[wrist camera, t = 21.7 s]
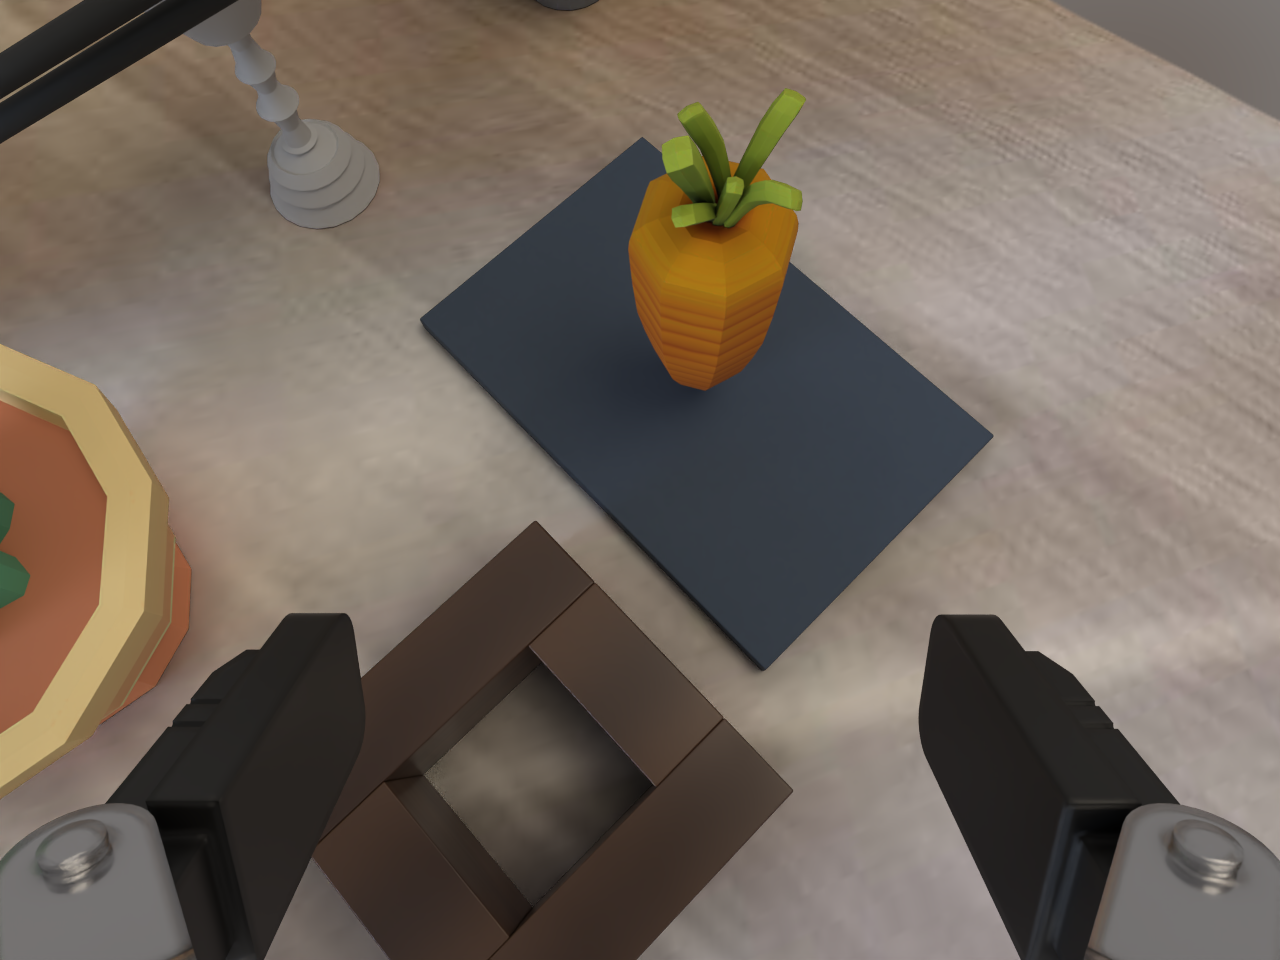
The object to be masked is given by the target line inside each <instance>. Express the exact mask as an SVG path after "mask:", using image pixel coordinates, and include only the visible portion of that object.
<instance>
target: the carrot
mask: <svg viewBox="0 0 1280 960" xmlns="http://www.w3.org/2000/svg"><path fill="white" fill-rule="evenodd" d="M805 101H806V99H805V97H803V96H802V95H801V94H799V93H798V92H796V91H793V90H790V89H787V88H785V89H784V91H783V92H782V93H781V94H780V95H779V96H778V97H777V98H776V99H775V101H774V102H773V103H772V104H771V106H770V108H769V109H768V111H767V112H766V114H765V115H764V117H763V118H762V120H761V121H760V123H759V125H758V127H757V129H756V131H755V133H754V135H753V137H752V139H751V141H750V143H749V145H748V147H747V149H746V151H745V153H744V155H743V157H742V159H741V161H740V163H735V162H730V161H728V157H727V153H726V148H725V144H724V140H723V138H722V136H721V134H720V132H719V130H718V129H717V127H716V125H715V123H714V121H713V120H712V118H711V117H710V116H709V114H708V113H707V112H706V110H705V109H704V108H703V106H702V105H701V104H700V103H699V102H696V103H694V104H691V105H688V106H686V107H685V108H684V109H683V110H681V111H680V112H679V113H678V118H679V120H680V122H681V123H682V125H683V126H684V128H685V130H686V131H687V133H688V134H689V135H690V137H691V138H692V139H693V141H694V142H695V143H696V145H697V146H698V147H699V149H700V150H701V153H702V155H703V156H701V154H700V152H699V150H698V149H697V147H696V145H695V143H694V142H693V141H692V139H691V138H690V137H689V136H682V137H676V138H673V139H671V140H670V141H668V142H666V143H664V144H663V145H662V159H663V162H664V166H665V169H666V172H667V174H665V175H663V176H660V177H658V178H656V179H654V180H652V181H650V183H649V185H648V187H647V190H646V193H645V196H644V199H643V202H642V205H641V208H640V211H639V214H638V217H637V220H636V223H635V226H634V229H633V232H632V235H631V238H630V240H629V247H628V252H629V260H630V269H631V277H632V285H633V290H634V296H635V302H636V307H637V312H638V315H639V317H640V320H641V322H642V325H643V327H644V329H645V332H646V334H647V336H648V338H649V340H650V342H651V344H652V346H653V348H654V350H655V351H656V353H657V354H658V356H659V358H660V359H661V361H662V363H663V364H664V366H665V368H666V369H667V371H668V372H669V374H670V376H671V377H672V379H673V380H675V381H676V382H677V383H679V384H681V385H684V386H688V387H692V388H696V389H700V390H704V391H706V390H708V389H710V388H711V387H713V386H715V385H717V384H719V383H721V382H723V381H725V380H727V379H729V378H730V377H732V376H734V375H736V374H738V373H739V372H741V371H742V370H743V369H744V367H745V366H746V365H747V364H748V363H749V362H750V360H751V359H752V358H753V357H754V355H755V354H756V352H757V351H758V349H759V348H760V346H761V345H762V344H763V341H764V339H765V336H766V334H767V331H768V328H769V326H770V323H771V321H772V318H773V315H774V312H775V309H776V306H777V302H778V299H779V296H780V293H781V290H782V287H783V283H784V279H785V276H786V272H787V268H788V265H789V261H790V257H791V254H792V250H793V246H794V243H795V239H796V235H797V232H798V219H797V215H796V214H795V212H794V211H793V210H795V211H800V210H801V207H802V202H803V201H802V192H801V191H800V190H798V189H796V188H794V187H792V186H789V185H787V184H785V183H782V182H778V181H775V180H771V179H770V177H769V176H768V174H767V173H766V172H765V170H764V169H761V167H762V165H763V164H764V162H765V161H766V159H767V158H768V156H769V155H770V153H771V152H772V150H773V149H774V147H775V146H776V144H777V143H778V141H779V140H780V138H781V137H782V135H783V134H784V132H785V131H786V129H787V128H788V127H789V125H790V124H791V123H792V121H793V120H794V118H795V117H796V116H797V114H798V113H799V111H800V109H801V108H802V106H803V104H804V102H805Z"/></svg>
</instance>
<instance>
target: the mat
mask: <svg viewBox="0 0 1280 960" xmlns="http://www.w3.org/2000/svg"><path fill="white" fill-rule="evenodd" d="M665 174H667V172H666V169H665V166H664V162H663V159H662V153H661V152H660V151H658V150H657V149H656V148H655V147H654V146H653V145H651V144H650V143H649V142H648V141H647V140H646V139H644V138H643V137H642V138H640V139H639V140H638V141H637V142H635V143H634V144H633V145H632V146H631V147H629V148H628V149H627V150H626V151H624V152H623V153H622V154H621V155H620V156H618V157H617V158H616V159H615V160H613V161H612V162H611V163H610V164H609V165H607V166H606V167H605V168H604V169H602V170H601V171H600V172H599V173H598V174H596V175H595V176H594V177H593V178H591V179H590V180H589V181H588V182H587V183H585V184H584V185H583V186H582V187H580V188H579V189H578V190H577V191H576V192H574V193H573V194H572V195H571V196H569V197H568V198H567V199H566V200H565V201H563V202H562V203H561V204H560V205H558V206H557V207H556V208H555V209H554V210H552V211H551V212H550V213H549V214H547V215H546V216H545V217H544V218H543V219H541V220H540V221H539V222H538V223H536V224H535V225H534V226H533V227H532V228H530V229H529V230H528V231H527V232H525V233H524V234H523V235H522V236H521V237H519V238H518V239H517V240H516V241H514V242H513V243H512V244H511V245H510V246H508V247H507V248H506V249H505V250H503V251H502V252H501V253H500V254H499V255H497V256H496V257H495V258H494V259H492V260H491V261H490V262H489V263H488V264H486V265H485V266H484V267H483V268H481V269H480V270H479V271H478V272H477V273H475V274H474V275H473V276H472V277H470V278H469V279H468V280H467V281H466V282H464V283H463V284H462V285H461V286H459V287H458V288H457V289H456V290H455V291H453V292H452V293H451V294H450V295H448V296H447V297H446V298H445V299H444V300H442V301H441V302H440V303H439V304H437V305H436V306H435V307H434V308H433V309H431V310H430V311H429V312H428V313H426V314H425V315H424V316H423V317H422V318H421V319H420V321H421V322H422V324H423V326H424V327H425V329H426V330H427V331H428V332H429V333H430V334H431V335H432V336H433V337H434V338H435V339H436V340H437V341H438V342H439V343H440V344H441V345H442V346H443V347H444V348H445V349H446V350H447V351H448V352H449V353H450V354H451V355H452V356H453V357H454V358H455V359H456V360H457V361H458V362H459V363H460V364H461V365H462V366H463V367H464V368H465V369H466V370H467V371H468V372H469V373H470V374H471V375H472V376H473V377H474V378H475V379H476V381H477V382H478V383H479V384H480V385H481V386H482V387H483V388H484V389H485V390H486V391H487V392H488V393H489V394H490V395H491V396H492V397H493V398H494V399H495V400H496V401H497V402H498V403H499V404H500V405H501V406H502V407H503V408H504V409H505V410H506V411H507V412H508V413H509V414H510V415H511V416H512V417H513V418H514V419H515V420H516V421H517V422H518V423H519V424H520V425H521V426H522V427H523V428H524V429H525V430H526V431H527V432H528V433H529V434H530V435H531V436H532V437H533V438H534V439H535V440H536V441H537V442H538V443H539V445H540V446H541V447H542V448H543V449H544V450H545V451H546V452H547V453H548V454H549V455H550V456H551V457H552V458H553V459H554V460H555V461H556V462H557V463H558V464H559V465H560V466H561V467H562V468H563V469H564V470H565V471H566V472H567V473H568V474H569V475H570V476H571V477H572V478H573V479H574V480H575V481H576V482H577V483H578V484H579V485H580V486H581V487H582V488H583V489H584V490H585V491H586V492H587V493H588V494H589V495H590V496H591V497H592V498H593V499H594V500H595V501H596V502H597V503H598V504H599V505H600V506H601V507H602V509H603V510H604V511H605V512H606V513H607V514H608V515H609V516H610V517H611V518H612V519H613V520H614V521H615V522H616V523H617V524H618V525H619V526H620V527H621V528H622V529H623V530H624V531H625V532H626V533H627V534H628V535H629V536H630V537H631V538H632V539H633V540H634V541H635V542H636V543H637V544H638V545H639V546H640V547H641V548H642V549H643V550H644V551H645V552H646V553H647V554H648V555H649V556H650V557H651V558H652V559H653V560H654V561H655V562H656V563H657V564H658V565H659V566H660V567H661V568H662V569H663V570H664V571H665V572H666V574H667V575H668V576H669V577H670V578H671V579H672V580H673V581H674V582H675V583H676V584H677V585H678V586H679V587H680V588H681V589H682V590H683V591H684V592H685V593H686V594H687V595H688V596H689V597H690V598H691V599H692V600H693V601H694V602H695V603H696V604H697V605H698V606H699V607H700V608H701V609H702V610H703V611H704V612H705V613H706V614H707V615H708V616H709V617H710V618H711V619H712V620H713V621H714V622H715V623H716V624H717V625H718V626H719V627H720V628H721V629H722V630H723V631H724V632H725V633H726V634H727V635H728V636H729V638H730V639H731V640H732V641H733V642H734V643H735V644H736V645H737V646H738V647H739V648H740V649H741V650H742V651H743V652H744V653H745V654H746V655H747V656H748V657H749V658H750V659H751V660H752V661H753V662H754V663H755V664H756V665H757V666H758V667H759V668H760V669H761V670H762V671H764V670H766V669H767V668H768V667H769V666H770V665H771V664H772V663H773V662H774V661H775V660H776V659H777V658H778V657H779V656H780V655H781V654H782V653H783V652H784V651H785V650H786V649H787V648H788V647H789V646H790V644H791V643H792V642H793V641H794V640H795V639H796V638H797V637H798V636H799V635H800V634H801V633H802V632H803V631H804V630H805V629H806V628H807V627H808V626H809V625H810V624H811V623H812V622H813V621H814V620H815V619H816V618H817V617H818V616H819V615H820V614H821V613H822V612H823V611H824V610H825V609H826V608H827V607H828V606H829V605H830V604H831V603H832V602H833V600H834V599H835V598H836V597H837V596H838V595H839V594H840V593H841V592H842V591H843V590H844V589H845V588H846V587H847V586H848V585H849V584H850V583H851V582H852V581H853V580H854V579H855V578H856V577H857V576H858V575H859V574H860V573H861V572H862V571H863V570H864V569H865V568H866V567H867V566H868V565H869V564H870V563H871V562H872V561H873V560H874V559H875V558H876V556H877V555H878V554H879V553H880V552H881V551H882V550H883V549H884V548H885V547H886V546H887V545H888V544H889V543H890V542H891V541H892V540H893V539H894V538H895V537H896V536H897V535H898V534H899V533H900V532H901V531H902V530H903V529H904V528H905V527H906V526H907V525H908V524H909V523H910V522H911V521H912V520H913V519H914V518H915V517H916V516H917V515H918V514H919V512H920V511H921V510H922V509H923V508H924V507H925V506H926V505H927V504H928V503H929V502H930V501H931V500H932V499H933V498H934V497H935V496H936V495H937V494H938V493H939V492H940V491H941V490H942V489H943V488H944V487H945V486H946V485H947V484H948V483H949V482H950V481H951V480H952V479H953V478H954V477H955V476H956V475H957V474H958V473H959V472H960V471H961V470H962V468H963V467H964V466H965V465H966V464H967V463H968V462H969V461H970V460H971V459H972V458H973V457H974V456H975V455H976V454H977V453H978V452H979V451H980V450H981V449H982V448H983V447H984V446H985V445H986V444H987V443H988V442H989V441H990V440H991V439H992V438H993V434H991V433H990V432H989V431H988V430H987V429H986V428H984V427H983V426H982V425H981V424H980V423H979V422H977V421H976V420H975V419H974V418H973V417H971V416H970V415H969V414H968V413H967V412H966V411H964V410H963V409H962V408H961V407H960V406H959V405H957V404H956V403H955V402H954V401H953V400H951V399H950V398H949V397H948V396H947V395H946V394H944V393H943V392H942V391H941V390H940V389H939V388H937V387H936V386H935V385H934V384H933V383H931V382H930V381H929V380H928V379H927V378H926V377H924V376H923V375H922V374H921V373H920V372H919V371H917V370H916V369H915V368H914V367H913V366H911V365H910V364H909V363H908V362H907V361H906V360H904V359H903V358H902V357H901V356H900V355H899V354H897V353H896V352H895V351H894V350H893V349H891V348H890V347H889V346H888V345H887V344H886V343H884V342H883V341H882V340H881V339H880V338H879V337H877V336H876V335H875V334H874V333H873V332H871V331H870V330H869V329H868V328H867V327H866V326H864V325H863V324H862V323H861V322H860V321H859V320H857V319H856V318H855V317H854V316H853V315H851V314H850V313H849V312H848V311H847V310H846V309H844V308H843V307H842V306H841V305H840V304H839V303H837V302H836V301H835V300H834V299H833V298H831V297H830V296H829V295H828V294H827V293H826V292H824V291H823V290H822V289H821V288H820V287H819V286H817V285H816V284H815V283H814V282H813V281H811V280H810V279H809V278H808V277H807V276H806V275H804V274H803V273H802V272H801V271H800V270H798V269H797V268H796V267H795V266H794V265H793V264H791V263H790V262H789V265H788V268H787V272H786V276H785V279H784V283H783V287H782V290H781V293H780V296H779V299H778V302H777V306H776V309H775V312H774V315H773V318H772V321H771V323H770V326H769V328H768V331H767V334H766V336H765V339H764V341H763V344H762V345H761V346H760V348H759V349H758V351H757V352H756V354H755V355H754V357H753V358H752V359H751V360H750V362H749V363H748V364H747V365H746V366H745V367H744V369H743V370H742V371H741V372H739V373H738V374H736V375H734V376H732V377H730V378H729V379H727V380H725V381H723V382H721V383H719V384H717V385H715V386H713V387H711V388H710V389H708V390H706V391H704V390H700V389H696V388H692V387H688V386H684V385H681V384H679V383H677V382H676V381H675V380H673V379H672V377H671V376H670V374H669V372H668V371H667V369H666V368H665V366H664V364H663V363H662V361H661V359H660V358H659V356H658V354H657V353H656V351H655V350H654V348H653V346H652V344H651V342H650V340H649V338H648V336H647V334H646V332H645V329H644V327H643V325H642V322H641V320H640V317H639V315H638V312H637V307H636V302H635V296H634V290H633V285H632V277H631V269H630V260H629V252H628V247H629V240H630V238H631V235H632V232H633V229H634V226H635V223H636V220H637V217H638V214H639V211H640V208H641V205H642V202H643V199H644V196H645V193H646V190H647V187H648V185H649V183H650V181H652V180H654V179H656V178H658V177H660V176H663V175H665Z"/></svg>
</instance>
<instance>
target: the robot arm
mask: <svg viewBox="0 0 1280 960" xmlns="http://www.w3.org/2000/svg"><path fill="white" fill-rule="evenodd" d="M161 1H162V0H84V1H82V2H80V3H79V4H77V5H76V6H74V7H73V8H71V9H69V10H68V11H66V12H65V13H63V14H61V15H60V16H58V17H57V18H55V19H54V20H52V21H50V22H49V23H47V24H46V25H44V26H42V27H41V28H39V29H38V30H36V31H35V32H33V33H31V34H30V35H28V36H27V37H25V38H23V39H22V40H20V41H19V42H17V43H16V44H14V45H12V46H11V47H9V48H8V49H6V50H5V51H3V52H1V53H0V99H2V98H3V97H5V96H6V95H8V94H10V93H11V92H13V91H15V90H16V89H18V88H20V87H21V86H23V85H25V84H26V83H28V82H29V81H31V80H33V79H34V78H36V77H38V76H39V75H41V74H43V73H44V72H46V71H48V70H49V69H51V68H52V67H54V66H56V65H57V64H59V63H61V62H62V61H64V60H66V59H67V58H69V57H71V56H72V55H74V54H75V53H77V52H79V51H80V50H82V49H84V48H85V47H87V46H89V45H90V44H92V43H93V42H95V41H97V40H98V39H100V38H102V37H103V36H105V35H107V34H108V33H110V32H112V31H113V30H115V29H116V28H118V27H120V26H121V25H123V24H125V23H126V22H128V21H130V20H131V19H133V18H135V17H136V16H138V15H139V14H141V13H143V12H144V11H146V10H148V9H149V8H151V7H153V6H154V5H156V4H158V3H159V2H161ZM236 1H238V0H165V1H163V2H162V3H160V4H158V5H157V6H155V7H154V8H152V9H150V10H149V11H147V12H146V13H144V14H142V15H141V16H139V17H138V18H136V19H134V20H133V21H131V22H129V23H128V24H126V25H125V26H123V27H121V28H120V29H118V30H117V31H115V32H113V33H112V34H110V35H109V36H107V37H105V38H104V39H102V40H101V41H99V42H97V43H96V44H94V45H93V46H91V47H89V48H88V49H86V50H85V51H83V52H81V53H80V54H78V55H76V56H75V57H73V58H72V59H70V60H68V61H67V62H65V63H64V64H62V65H60V66H59V67H57V68H56V69H54V70H52V71H51V72H49V73H48V74H46V75H44V76H43V77H41V78H40V79H38V80H36V81H35V82H33V83H32V84H30V85H28V86H27V87H25V88H23V89H22V90H20V91H19V92H17V93H15V94H14V95H12V96H11V97H9V98H7V99H6V100H4V101H3V102H1V103H0V143H2V142H4V141H5V140H7V139H9V138H10V137H12V136H14V135H15V134H17V133H19V132H20V131H22V130H24V129H25V128H27V127H29V126H30V125H32V124H34V123H35V122H37V121H39V120H40V119H42V118H44V117H45V116H47V115H49V114H50V113H52V112H54V111H55V110H57V109H59V108H60V107H62V106H64V105H65V104H67V103H69V102H70V101H72V100H74V99H75V98H77V97H79V96H80V95H82V94H84V93H85V92H87V91H89V90H90V89H92V88H94V87H95V86H97V85H99V84H100V83H102V82H103V81H105V80H107V79H108V78H110V77H112V76H113V75H115V74H117V73H118V72H120V71H122V70H123V69H125V68H127V67H128V66H130V65H132V64H133V63H135V62H137V61H138V60H140V59H142V58H143V57H145V56H147V55H148V54H150V53H152V52H153V51H155V50H157V49H158V48H160V47H162V46H163V45H165V44H167V43H168V42H170V41H172V40H173V39H175V38H177V37H178V36H180V35H182V34H183V33H185V32H187V31H188V30H190V29H192V28H193V27H195V26H197V25H198V24H200V23H202V22H203V21H205V20H207V19H208V18H210V17H212V16H213V15H215V14H217V13H218V12H220V11H222V10H223V9H225V8H227V7H228V6H230V5H231V4H233V3H235V2H236ZM365 718H366V714H365V703H364V696H363V689H362V683H361V676H360V669H359V662H358V656H357V649H356V642H355V636H354V629H353V625H352V622H351V619H350V617H349V616H348V615H347V614H345V613H291V614H288V615H287V616H286V617H285V618H284V619H283V620H282V621H281V623H280V624H279V625H278V627H277V628H276V629H275V631H274V632H273V633H272V635H271V636H270V637H269V638H268V640H267V641H266V642H265V644H264V645H263V646H262V648H261V649H260V650H245V651H244V652H242V653H241V654H239V655H238V656H236V657H235V658H233V659H232V660H230V661H229V662H227V663H226V664H224V665H223V666H221V667H220V668H218V669H217V670H215V671H214V672H212V674H211V675H210V676H209V677H208V679H207V680H206V681H205V682H204V683H203V685H202V686H201V687H200V688H199V690H198V691H197V692H196V693H195V694H194V696H193V697H192V698H191V703H190V704H186V706H185V707H184V708H183V709H182V710H181V712H180V713H179V714H178V715H177V717H176V718H175V719H174V720H173V725H172V727H168V728H167V729H166V730H165V731H164V732H163V734H162V735H161V736H160V737H159V739H158V740H157V741H156V742H155V743H154V745H153V746H152V747H151V748H150V750H149V751H148V752H147V753H146V754H145V756H144V757H143V758H142V759H141V761H140V762H139V763H138V764H137V765H136V767H135V768H134V769H133V770H132V772H131V773H130V774H129V775H128V776H127V778H126V779H125V780H124V781H123V783H122V784H121V785H120V786H119V787H118V789H117V790H116V791H115V792H114V794H113V795H112V796H111V797H110V798H109V800H108V801H107V802H106V803H105V804H102V805H96V806H92V807H87V808H83V809H80V810H77V811H74V812H71V813H69V814H66V815H64V816H62V817H59V818H57V819H55V820H53V821H51V822H49V823H47V824H45V825H43V826H41V827H40V828H38V829H37V830H35V831H34V832H32V833H30V834H29V835H28V836H26V837H25V838H24V839H22V840H21V841H20V842H18V843H17V844H16V845H15V846H14V847H13V848H12V849H11V850H10V851H9V852H8V853H7V854H6V855H5V856H4V857H3V858H2V860H1V861H0V960H264V958H265V956H266V954H267V952H268V949H269V947H270V945H271V943H272V941H273V939H274V936H275V934H276V932H277V930H278V928H279V926H280V924H281V921H282V919H283V917H284V915H285V913H286V911H287V908H288V906H289V904H290V902H291V900H292V898H293V896H294V893H295V891H296V889H297V887H298V885H299V883H300V880H301V878H302V876H303V874H304V872H305V870H306V868H307V865H308V863H309V861H310V859H311V857H312V855H313V852H314V850H315V848H316V846H317V844H318V842H319V840H320V837H321V835H322V833H323V831H324V829H325V827H326V824H327V822H328V820H329V818H330V816H331V814H332V812H333V809H334V807H335V805H336V803H337V801H338V799H339V796H340V794H341V792H342V790H343V788H344V786H345V784H346V781H347V779H348V777H349V775H350V773H351V771H352V769H353V766H354V764H355V762H356V760H357V758H358V755H359V753H360V750H361V747H362V743H363V738H364V732H365ZM919 732H920V739H921V744H922V748H923V751H924V754H925V756H926V759H927V761H928V763H929V765H930V767H931V769H932V772H933V774H934V776H935V778H936V780H937V782H938V784H939V787H940V789H941V791H942V793H943V795H944V797H945V799H946V801H947V804H948V806H949V808H950V810H951V812H952V814H953V816H954V818H955V821H956V823H957V825H958V827H959V829H960V831H961V833H962V835H963V838H964V840H965V842H966V844H967V846H968V848H969V850H970V852H971V855H972V857H973V859H974V861H975V863H976V865H977V867H978V869H979V872H980V874H981V876H982V878H983V880H984V882H985V884H986V886H987V889H988V891H989V893H990V895H991V897H992V899H993V901H994V903H995V906H996V908H997V910H998V912H999V914H1000V916H1001V918H1002V921H1003V923H1004V925H1005V927H1006V929H1007V931H1008V933H1009V935H1010V938H1011V940H1012V942H1013V944H1014V946H1015V948H1016V950H1017V952H1018V955H1019V957H1020V959H1021V960H1280V861H1279V860H1278V858H1277V857H1276V856H1275V855H1274V854H1273V853H1272V852H1271V851H1270V850H1269V849H1268V848H1267V847H1266V846H1265V845H1264V844H1263V843H1262V842H1260V841H1259V840H1258V839H1256V838H1255V837H1254V836H1252V835H1251V834H1250V833H1248V832H1246V831H1245V830H1243V829H1242V828H1240V827H1239V826H1237V825H1235V824H1233V823H1231V822H1229V821H1227V820H1225V819H1223V818H1221V817H1218V816H1216V815H1214V814H1211V813H1209V812H1206V811H1203V810H1200V809H1197V808H1193V807H1188V806H1184V805H1180V804H1179V802H1178V801H1177V800H1176V799H1175V797H1174V796H1173V795H1172V794H1171V793H1170V791H1169V790H1168V789H1167V788H1166V787H1165V785H1164V784H1163V783H1162V782H1161V781H1160V779H1159V778H1158V777H1157V776H1156V774H1155V773H1154V772H1153V771H1152V770H1151V768H1150V767H1149V766H1148V765H1147V764H1146V762H1145V761H1144V760H1143V759H1142V757H1141V756H1140V755H1139V754H1138V753H1137V751H1136V750H1135V749H1134V748H1133V747H1132V745H1131V744H1130V743H1129V742H1128V741H1127V739H1126V738H1125V737H1124V736H1123V734H1122V733H1121V732H1120V731H1119V730H1118V729H1114V727H1113V722H1112V721H1111V720H1110V719H1109V717H1108V716H1107V715H1106V714H1105V713H1104V711H1103V710H1102V709H1101V708H1100V707H1099V706H1095V701H1094V699H1093V698H1092V697H1091V696H1090V694H1089V693H1088V692H1087V691H1086V690H1085V688H1084V687H1083V686H1082V685H1081V684H1080V682H1079V681H1078V680H1077V679H1076V677H1075V676H1074V675H1073V674H1072V673H1070V672H1069V671H1067V670H1066V669H1064V668H1063V667H1061V666H1060V665H1058V664H1057V663H1055V662H1054V661H1052V660H1051V659H1049V658H1048V657H1046V656H1045V655H1043V654H1042V653H1040V652H1039V651H1025V650H1024V649H1023V648H1022V646H1021V645H1020V644H1019V643H1018V641H1017V640H1016V639H1015V637H1014V636H1013V635H1012V633H1011V632H1010V631H1009V630H1008V628H1007V627H1006V626H1005V624H1004V623H1003V622H1002V620H1001V619H1000V618H999V617H997V616H996V615H938V616H937V617H936V618H935V620H934V622H933V624H932V628H931V633H930V639H929V646H928V653H927V659H926V666H925V672H924V679H923V686H922V692H921V699H920V705H919Z"/></svg>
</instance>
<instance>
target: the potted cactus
mask: <svg viewBox="0 0 1280 960" xmlns="http://www.w3.org/2000/svg"><path fill="white" fill-rule="evenodd" d="M168 507H169V497H168V495H167V494H166V492H165V490H164V489H163V487H162V485H161V484H160V482H159V480H158V479H157V477H156V475H155V474H154V472H153V470H152V468H151V467H150V465H149V463H148V462H147V460H146V458H145V457H144V455H143V453H142V452H141V450H140V448H139V446H138V445H137V443H136V441H135V440H134V438H133V436H132V435H131V433H130V431H129V430H128V428H127V426H126V425H125V423H124V421H123V419H122V418H121V416H120V414H119V413H118V411H117V410H116V408H115V407H114V406H113V405H112V404H111V403H110V401H109V400H108V399H107V398H106V397H105V396H104V395H103V393H102V392H101V391H100V390H99V389H98V388H97V386H96V385H94V384H92V383H89V382H87V381H85V380H82V379H80V378H78V377H75V376H73V375H71V374H68V373H66V372H64V371H61V370H59V369H57V368H54V367H52V366H50V365H47V364H45V363H43V362H41V361H38V360H36V359H34V358H31V357H29V356H27V355H24V354H22V353H20V352H17V351H15V350H13V349H10V348H8V347H6V346H3V345H1V344H0V799H1V798H3V797H4V796H6V795H7V794H9V793H10V792H11V791H13V790H14V789H16V788H17V787H19V786H20V785H22V784H23V783H24V782H26V781H27V780H29V779H30V778H32V777H33V776H35V775H36V774H37V773H39V772H40V771H42V770H43V769H45V768H46V767H48V766H49V765H50V764H52V763H53V762H55V761H56V760H58V759H59V758H61V757H62V756H63V755H65V754H66V753H68V752H69V751H71V750H72V749H74V748H75V747H76V746H78V745H79V744H81V743H82V742H84V741H85V740H87V739H88V738H90V737H91V736H92V735H93V733H94V732H95V730H96V728H97V727H98V725H100V724H101V723H103V722H104V721H106V720H107V719H108V718H110V717H111V716H113V715H114V714H116V713H117V712H119V711H120V710H121V709H123V708H124V707H126V706H127V705H129V704H130V703H132V702H133V701H135V700H136V699H137V698H139V697H140V696H142V695H143V694H145V693H146V692H148V691H149V690H150V689H152V688H153V687H155V686H156V684H157V682H158V681H159V679H160V677H161V676H162V674H163V672H164V670H165V669H166V667H167V665H168V663H169V662H170V660H171V658H172V657H173V655H174V653H175V651H176V650H177V648H178V646H179V644H180V643H181V641H182V639H183V638H184V636H185V634H186V632H187V631H188V629H189V610H190V587H191V568H190V566H189V564H188V563H187V561H186V559H185V557H184V556H183V554H182V552H181V551H180V549H179V547H178V545H177V544H176V542H175V540H176V537H175V536H174V534H173V532H172V531H171V529H170V527H169V526H168Z"/></svg>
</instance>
